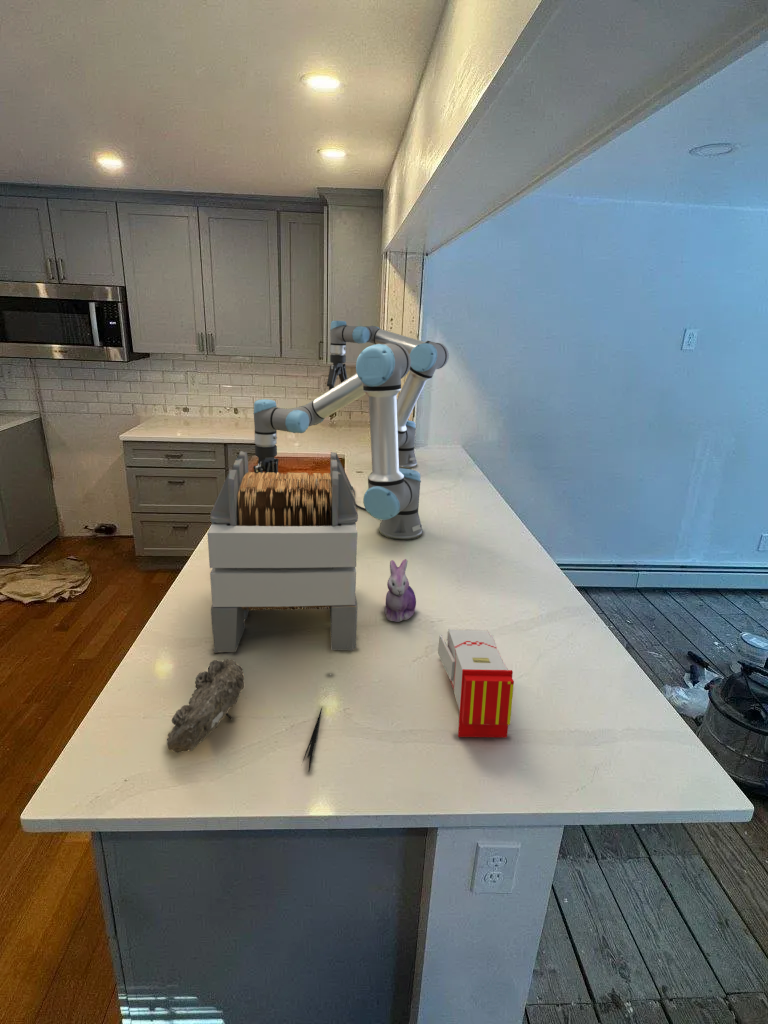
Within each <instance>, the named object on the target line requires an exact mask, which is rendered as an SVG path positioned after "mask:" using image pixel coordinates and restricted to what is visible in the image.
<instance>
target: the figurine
mask: <svg viewBox="0 0 768 1024" xmlns="http://www.w3.org/2000/svg"><path fill="white" fill-rule="evenodd" d="M407 567H408V559H406V558H404V559H403V560H402V561H401V563H400V565H399V566H398V565H397V563H396V562H395V561H394V560H393V559H391V560H390V561H389V570H390V576H389V578H388V579H387V589H388V591H387V592H386V594H385V595H386V596H385V607H384V615H385V616H386V620H387V621H391V622H395V623H400V622H402V621H406V620H409V619H410V618H411V617H413V616H414V615H415V610H416V606H417V597H416V593H415V591H414V590H413V587H411V586H410V582H409V579H408V577H407V574H406V571H407Z"/></svg>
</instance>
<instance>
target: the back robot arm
mask: <svg viewBox="0 0 768 1024" xmlns="http://www.w3.org/2000/svg"><path fill="white" fill-rule="evenodd" d="M329 331H330V332H329V333H330V344H329V345H330V346H329V352H330V355H329V362H330V363H332V364H330V365H329V372H328V377H327V382H326V387H328V391H329V390H330V389H332V388H334V387H335V386H336V385H335V384H336V381H337V378H339V381H340V383H342V382H343V381H345V380H346V379H348V373H347V369H346V368H347V367H346V366H347V365H346V361H347V356H346V353H347V343H351V344H359V345H361V344H366V343H369V344H372V345H376V344H388V343H396V344H399V345H401V346H403V347H404V348H405V349H406V350H407V351H408V353H409V355H410V358H411V366H410V369H409V371H408V374H407V377H406V379H405V381H404V383H403V385H402V387H401V390H400V391H399V393H398V395H397V396H398V397H396V398H397V427H398V456H399V468H405V469H415V468H416V467H417V466H418V461H417V456H416V453H415V444H416V443H415V442H416V428H417V427H416V422H415V421H413V420H411V419H410V420H409V418H410V416H411V415H412V412H413V410H414V408H415V406H416V403H417V402H418V400H419V398H420V395H421V393H422V391H423V389H424V387H425V385H426V383H427V381H429V380H431V379H433V376H434V374H435V372H436V370H441V369H442V368H444V367H445V366H446V365H447V363H448V361H449V358H450V353H449V349H448V348H447V346H446V345H444V344H443V343H440V342H434V341H432V340H426V341H422V340H420V339H416V338H413V337H409V336H406V335H403V334H398V333H395V332H393V331H389V330H385V329H382V328H380V327H379V326H376V325H347V321H346V320H332V321H331V322H330V329H329Z"/></svg>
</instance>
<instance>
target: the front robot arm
mask: <svg viewBox="0 0 768 1024" xmlns="http://www.w3.org/2000/svg"><path fill="white" fill-rule="evenodd" d="M410 366H411V358H410V355H409V353H408V351H407V350H406V349H405V348H404V347H403V346H401V345H399V344H396V343H388V344H372V345H369V346H367V347H365V348H364V349H362V351H360V353H359V355H358V356H357V358H356V364H355V373H354V374H353V375H351V376H350V377H347V379H346V380H345V381H343V382H342V383H341V382H340V383H338V384H337V385H334V388H332V389H330V390H329V389H328V390H327V391H325V392H323V393H322V394H321V395H319V396H318V397H315V398H314V399H313V400H311V401H309V402H308V403H306V404H304V405H299V406H296V407H292V408H283V407H278V406H277V402H276V401H275V400H274V399H264V398H263V399H257V400H255V401H254V403H253V414H252V415H253V423H254V444H255V446H254V455H255V457H257V458H258V460H257V465H253V472H255V473H258V472H262V473H263V472H265V473H267V472H274V473H276V474H277V472H278V473H279V461H280V460H279V458H276V457H277V456H278V446H277V441H278V440H277V439H278V437H277V433H278V432H277V431H281V432H286V433H287V432H288V433H292V434H304V433H305V432H306V431H307V430H308V428H309V427H313V426H317V425H319V424H321V423H322V422H324V420H325V419H326V418H328V417H330V416H331V415H333V414H335V413H336V412H338V411H340V410H342V409H344V408H345V407H347V406H349V405H350V404H352V403H353V402H355V401H357V400H359V399H360V398H363V397H364V396H366V395H367V397H368V413H369V432H370V450H371V451H370V452H371V453H370V454H371V472H370V473H369V475H367V487H368V488H367V490H365V493H364V494H363V499H362V500H363V501H362V502H363V503H362V504H363V506H360V505H358V504H357V503H356V508H357V509H359V510H361V511H365V512H367V513H368V514H369V515H370V516H371V517H373V518H374V519H377V520H380V521H381V522H379V527H378V533H379V534H380V535H381V536H382V537H385V538H387V539H389V540H395V541H410V540H415V539H418V538H420V537H421V536H422V535H423V525H422V524H421V518H420V515H419V507H420V506H419V505H420V496H421V495H420V494H421V493H420V492H421V483H422V480H421V473H420V472H419V471H417V470H415V469H412V468H410V469H405V468H399V456H398V427H397V398H398V397H397V396H398V395H399V393H400V392H401V390H402V379H403V378H405V377H406V376H407V375H408V374H409V369H410ZM352 488H353V490H354V496H355V494H356V493H355V492H356V491H355V488H354V487H353V486H352Z"/></svg>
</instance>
